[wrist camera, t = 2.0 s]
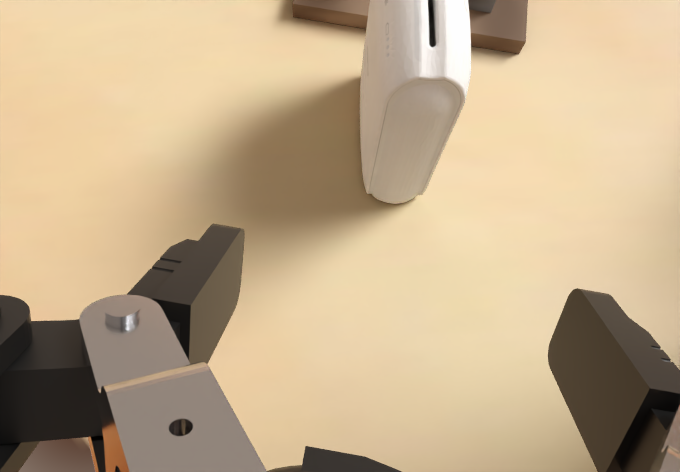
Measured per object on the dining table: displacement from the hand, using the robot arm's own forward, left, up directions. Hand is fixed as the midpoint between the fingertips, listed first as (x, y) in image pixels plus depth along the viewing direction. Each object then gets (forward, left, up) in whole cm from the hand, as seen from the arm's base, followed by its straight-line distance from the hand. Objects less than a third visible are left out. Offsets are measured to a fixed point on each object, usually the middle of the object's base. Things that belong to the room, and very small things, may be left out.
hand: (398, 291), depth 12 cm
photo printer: (0, -15, -16) cm, 22 cm away
